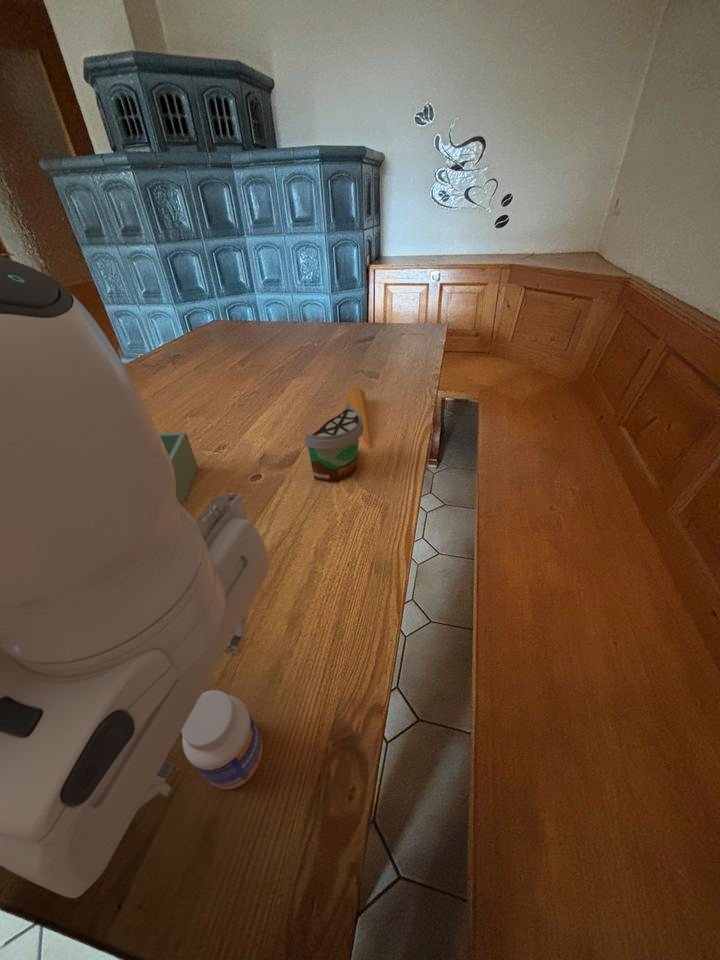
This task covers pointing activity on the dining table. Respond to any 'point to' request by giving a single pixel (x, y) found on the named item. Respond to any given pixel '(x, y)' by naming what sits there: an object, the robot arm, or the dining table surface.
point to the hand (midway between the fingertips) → (204, 705)
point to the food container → (335, 446)
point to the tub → (181, 462)
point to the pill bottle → (222, 740)
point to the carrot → (360, 409)
